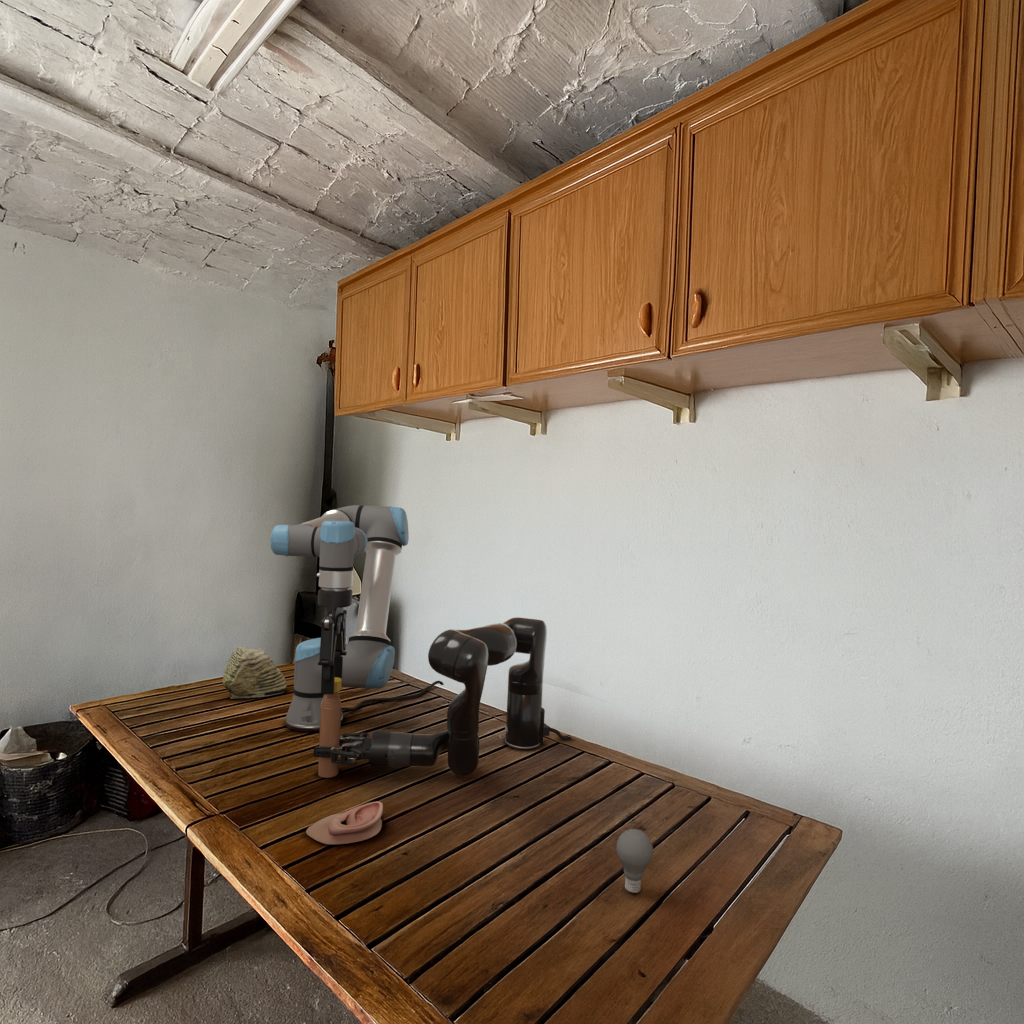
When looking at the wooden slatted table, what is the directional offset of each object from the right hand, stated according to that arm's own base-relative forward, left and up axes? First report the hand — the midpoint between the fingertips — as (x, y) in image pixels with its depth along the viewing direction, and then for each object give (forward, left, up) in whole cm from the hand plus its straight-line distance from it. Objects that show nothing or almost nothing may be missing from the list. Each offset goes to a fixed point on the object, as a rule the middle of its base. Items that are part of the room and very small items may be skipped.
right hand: (317, 747), depth 145 cm
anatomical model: (-1, +27, -6) cm, 28 cm away
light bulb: (-40, +65, -6) cm, 76 cm away
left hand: (-2, +1, +14) cm, 14 cm away
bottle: (-2, +1, -6) cm, 7 cm away
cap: (-2, +1, +15) cm, 16 cm away
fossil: (+8, -64, -6) cm, 64 cm away
